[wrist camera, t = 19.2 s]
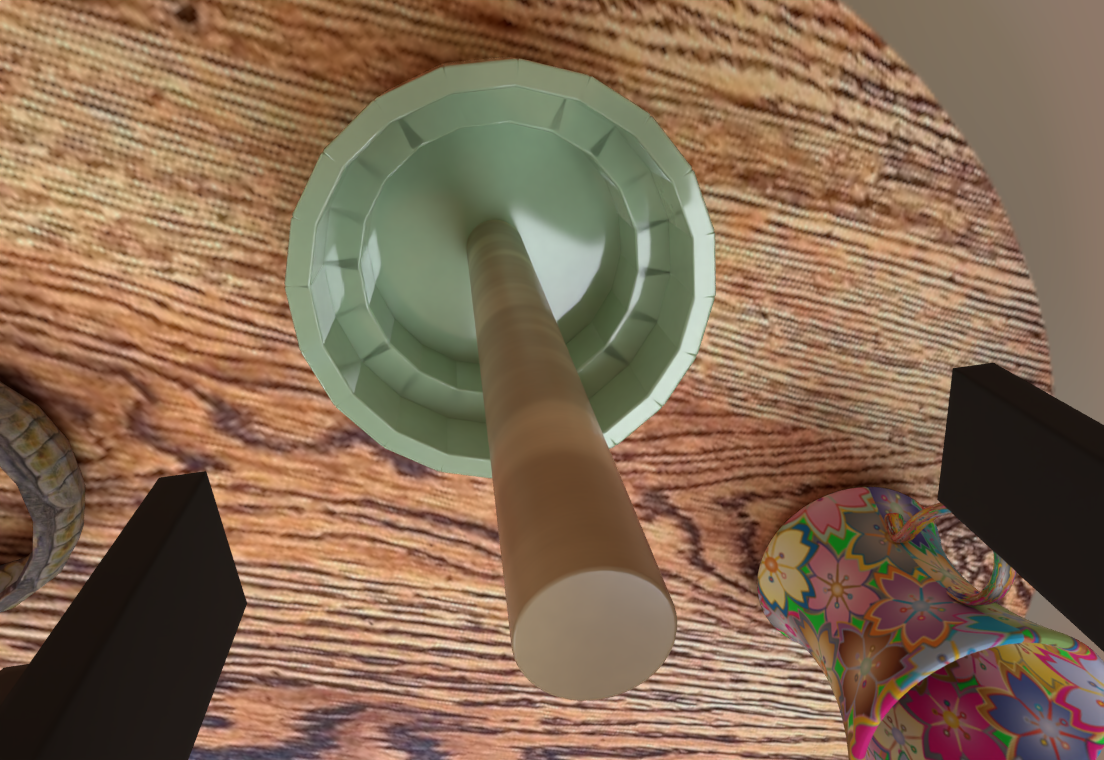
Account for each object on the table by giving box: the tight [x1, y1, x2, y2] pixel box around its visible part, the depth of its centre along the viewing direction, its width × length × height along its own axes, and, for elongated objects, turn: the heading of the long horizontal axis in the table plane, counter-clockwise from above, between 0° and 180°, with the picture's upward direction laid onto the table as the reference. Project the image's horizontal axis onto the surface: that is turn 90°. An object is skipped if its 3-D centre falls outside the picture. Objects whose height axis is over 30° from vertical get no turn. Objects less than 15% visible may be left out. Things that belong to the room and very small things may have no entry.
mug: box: [757, 487, 1104, 760], centre depth 30 cm, size 12×9×11 cm
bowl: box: [285, 57, 716, 478], centre depth 25 cm, size 12×12×6 cm
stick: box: [466, 220, 677, 701], centre depth 18 cm, size 2×2×20 cm
